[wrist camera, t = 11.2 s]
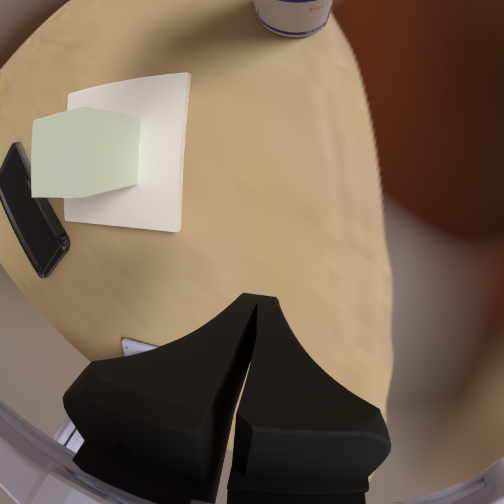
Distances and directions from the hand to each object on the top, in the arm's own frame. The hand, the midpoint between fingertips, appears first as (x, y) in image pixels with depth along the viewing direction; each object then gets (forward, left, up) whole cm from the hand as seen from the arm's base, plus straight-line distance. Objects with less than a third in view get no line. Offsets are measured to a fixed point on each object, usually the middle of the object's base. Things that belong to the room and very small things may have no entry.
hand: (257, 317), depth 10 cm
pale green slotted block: (+6, +13, -10) cm, 17 cm away
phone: (+1, +27, -11) cm, 29 cm away
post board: (+6, +13, -10) cm, 18 cm away
